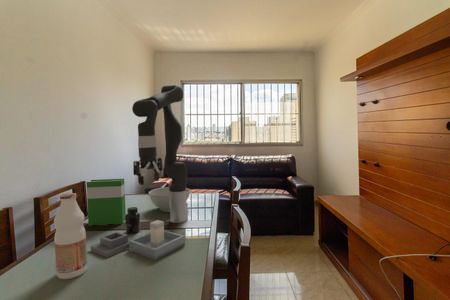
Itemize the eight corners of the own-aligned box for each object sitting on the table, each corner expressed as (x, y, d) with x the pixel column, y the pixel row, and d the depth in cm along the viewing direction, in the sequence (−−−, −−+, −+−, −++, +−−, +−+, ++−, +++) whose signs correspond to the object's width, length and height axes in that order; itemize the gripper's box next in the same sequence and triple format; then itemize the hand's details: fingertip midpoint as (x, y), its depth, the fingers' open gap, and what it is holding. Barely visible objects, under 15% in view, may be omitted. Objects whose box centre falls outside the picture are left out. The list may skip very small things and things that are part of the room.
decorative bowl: (187, 215, 153) (186, 195, 152) (143, 215, 153) (142, 196, 153) (193, 203, 180) (193, 186, 179) (156, 204, 180) (155, 187, 180)
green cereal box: (88, 226, 137) (86, 182, 136) (93, 221, 145) (91, 179, 143) (122, 223, 140) (120, 180, 138) (125, 219, 147) (124, 178, 146)
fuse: (158, 242, 112) (157, 220, 111) (164, 244, 109) (163, 221, 109) (150, 245, 108) (149, 222, 108) (157, 248, 106) (156, 224, 105)
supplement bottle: (125, 234, 124) (124, 210, 123) (126, 230, 130) (125, 207, 130) (139, 233, 125) (139, 209, 125) (140, 228, 132) (139, 205, 131)
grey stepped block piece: (120, 239, 119) (120, 228, 118) (136, 244, 112) (136, 233, 112) (90, 250, 107) (90, 238, 107) (107, 257, 100) (106, 245, 100)
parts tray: (159, 236, 120) (159, 228, 120) (184, 244, 111) (184, 235, 111) (129, 250, 107) (128, 240, 107) (155, 260, 98) (155, 250, 97)
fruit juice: (60, 283, 83) (56, 199, 82) (53, 273, 89) (48, 194, 88) (91, 271, 90) (87, 193, 88) (82, 263, 96) (78, 190, 95)
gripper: (153, 145, 120) (155, 179, 121) (128, 147, 108) (130, 185, 109) (165, 145, 116) (167, 180, 117) (139, 147, 104) (142, 186, 105)
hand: (149, 182), depth 113 cm, fingers open, 8 cm apart
